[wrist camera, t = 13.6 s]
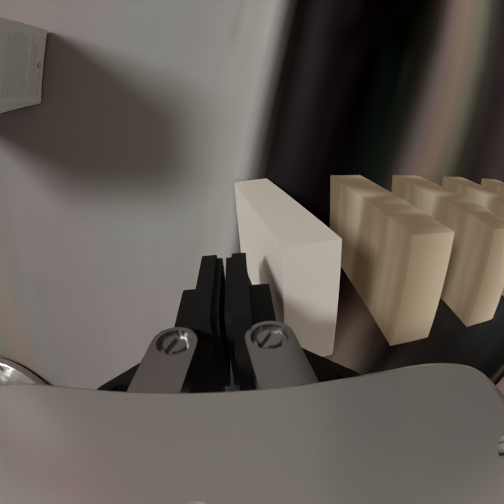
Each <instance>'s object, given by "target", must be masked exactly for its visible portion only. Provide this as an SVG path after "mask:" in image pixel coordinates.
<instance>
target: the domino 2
mask: <svg viewBox="0 0 504 504" xmlns="http://www.w3.org/2000/svg"><path fill="white" fill-rule="evenodd" d="M330 229H331V230H332V231H333V232H335V233H336V234H337V235H338V236H339V237H340V238H342V251H341V267H342V269H343V270H344V272H345V273H346V275H347V276H348V278H349V279H350V281H351V283H352V284H353V286H354V287H355V289H356V290H357V292H358V294H359V295H360V297H361V298H362V300H363V302H364V303H365V305H366V306H367V308H368V310H369V311H370V313H371V315H372V316H373V318H374V319H375V321H376V323H377V324H378V326H379V328H380V329H381V331H382V333H383V335H384V336H385V338H386V340H387V341H388V343H389V345H390V346H392V345H396V344H401V343H406V342H410V341H414V340H419V339H423V338H427V337H428V335H429V332H430V329H431V326H432V323H433V320H434V317H435V313H436V310H437V306H438V303H439V299H440V296H441V292H442V288H443V284H444V280H445V276H446V272H447V268H448V263H449V259H450V254H451V249H452V244H453V239H454V233H455V232H454V231H452V230H451V229H449V228H448V227H446V226H445V225H443V224H442V223H440V222H439V221H437V220H436V219H434V218H433V217H431V216H429V215H428V214H426V213H425V212H423V211H421V210H420V209H418V208H417V207H415V206H413V205H412V204H410V203H408V202H407V201H405V200H403V199H402V198H400V197H398V196H396V195H395V194H393V193H391V192H390V191H388V190H386V189H384V188H382V187H381V186H379V185H377V184H375V183H374V182H372V181H370V180H368V179H366V178H364V177H362V176H361V175H333V176H331V193H330Z"/></svg>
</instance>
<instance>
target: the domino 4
mask: <svg viewBox="0 0 504 504" xmlns="http://www.w3.org/2000/svg"><path fill="white" fill-rule="evenodd" d="M442 187H444V188H446V189H448V190H450V191H452V192H454V193H457V194H459V195H461V196H463V197H465V198H467V199H469V200H471V201H473V202H475V203H477V204H479V205H480V206H482V207H484V208H486V209H488V210H490V211H492V212H494V213H495V214H497V215H499V216H501V217H503V218H504V195H502V194H499V193H497V192H495V191H493V190H491V189H488V188H486V187H484V186H481V185H479V184H477V183H474V182H472V181H470V180H467V179H465V178H462V177H449V176H443V180H442ZM502 295H503V296H504V288H503V291H502Z"/></svg>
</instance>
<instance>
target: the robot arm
mask: <svg viewBox="0 0 504 504" xmlns="http://www.w3.org/2000/svg"><path fill="white" fill-rule="evenodd" d="M230 358H231V365H232V371H233V377H234V383H235V386H236V385H240V391H227V392H225V386H230ZM0 504H504V396H503V394H502V393H501V392H500V391H499V389H498V388H497V387H496V386H495V385H494V383H493V382H492V381H491V380H490V379H489V378H488V377H487V376H486V375H484V374H483V373H482V372H480V371H479V370H477V369H475V368H473V367H470V366H466V365H461V364H451V363H432V364H420V365H413V366H407V367H402V368H397V369H392V370H387V371H381V372H376V373H370V374H366V375H361V374H359V373H357V372H355V371H353V370H351V369H348V368H346V367H344V366H342V365H339V364H337V363H335V362H333V361H330V360H328V359H326V358H324V357H321V356H319V355H317V354H315V353H313V352H310V351H308V350H306V349H304V348H302V347H301V345H300V343H299V341H298V339H297V337H296V335H295V333H294V332H293V330H292V329H291V328H290V327H289V326H288V325H286V324H285V323H282V322H278V321H276V317H275V312H274V306H273V301H272V296H271V291H270V286H269V283H268V284H256V285H248V273H247V261H246V253H235V254H232V257H231V258H227V259H226V282H225V274H224V266H223V259H222V258H219V259H217V255H211V256H202V260H201V265H200V270H199V275H198V280H197V285H196V289H192V290H184V291H183V294H182V298H181V302H180V306H179V310H178V314H177V318H176V323H175V327H173V328H169V329H166V330H164V331H162V332H160V333H159V334H157V335H156V336H155V337H154V339H153V340H152V342H151V344H150V345H149V347H148V349H147V351H146V353H145V355H144V357H143V359H142V361H141V363H139V364H137V365H136V366H134V367H132V368H131V369H129V370H127V371H126V372H124V373H122V374H121V375H119V376H117V377H116V378H114V379H112V380H110V381H109V382H107V383H105V384H104V385H102V386H101V387H99V388H98V389H97V390H92V389H82V388H72V387H63V386H53V385H47V384H46V383H45V382H43V381H42V380H41V379H40V378H39V377H37V376H36V375H34V374H33V373H32V372H30V371H29V370H27V369H25V368H24V367H22V366H20V365H18V364H16V363H15V362H12V361H9V360H7V359H2V358H0Z"/></svg>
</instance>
